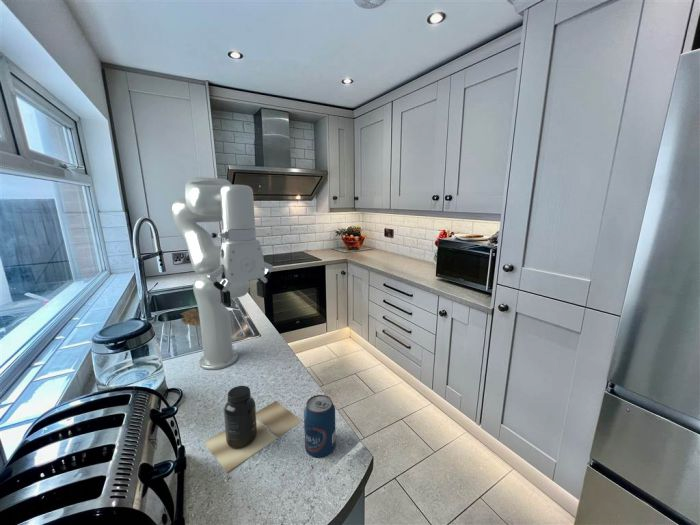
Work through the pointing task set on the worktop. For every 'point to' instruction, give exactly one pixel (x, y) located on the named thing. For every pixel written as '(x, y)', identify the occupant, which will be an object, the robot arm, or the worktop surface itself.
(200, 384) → the worktop surface
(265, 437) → the plank
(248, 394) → the supplement bottle
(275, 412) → the laid board
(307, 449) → the soda can
